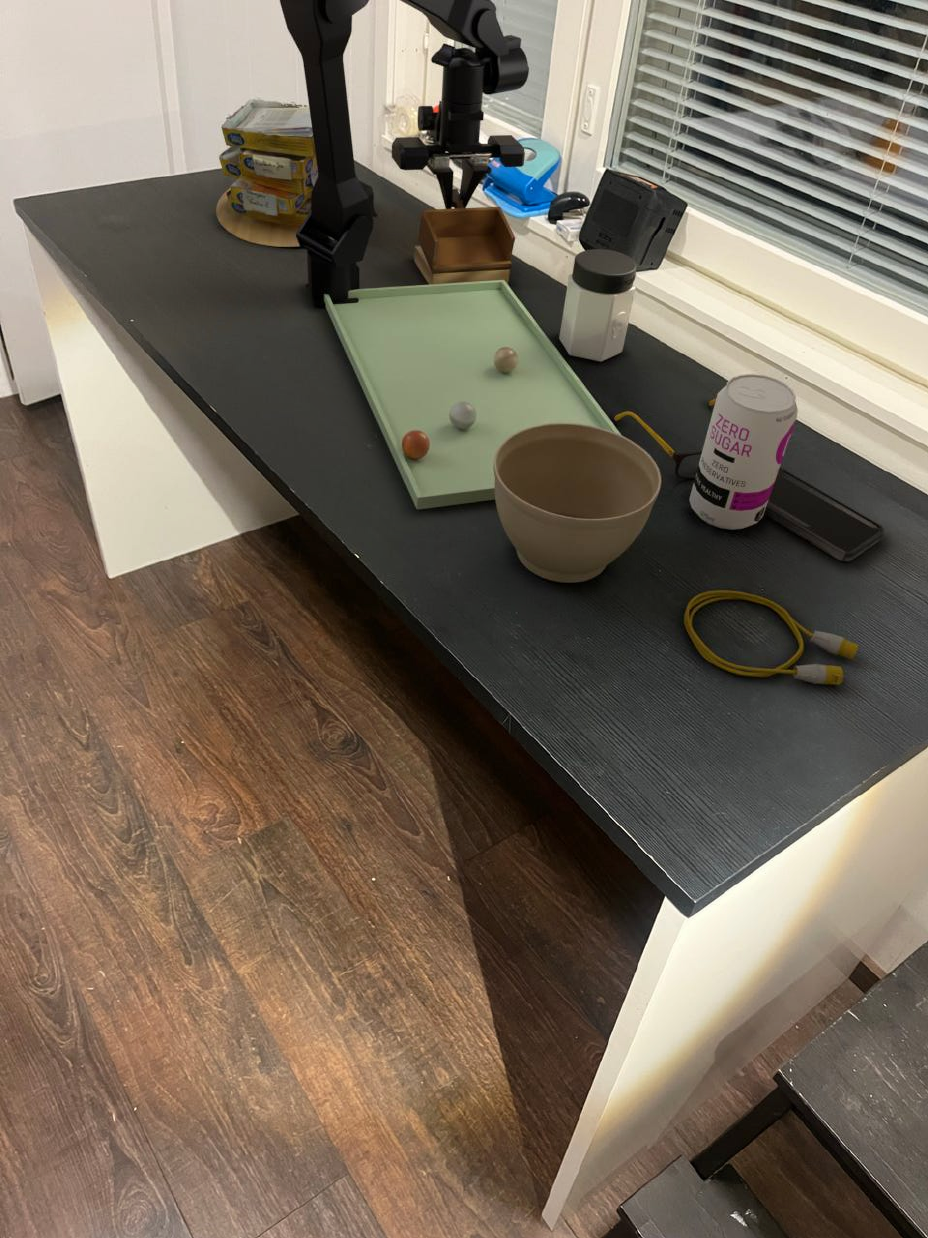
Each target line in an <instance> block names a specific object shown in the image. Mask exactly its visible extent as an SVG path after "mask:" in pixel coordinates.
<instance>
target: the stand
mask: <svg viewBox="0 0 928 1238" xmlns="http://www.w3.org/2000/svg"><path fill="white" fill-rule="evenodd" d="M413 258H414V259H413V260H414V264H415V265H416V266H417V268H418V269H419V271H420V272H421V275H423V278H424V279H425V281H426V282H427V285H431V284H447V283H462V282H478V281H493V280H504V281H505V282H506V283H507V285H508V286H509V281H510V280H509V279H510V270H511V269H507V270H491V271H475V272H458V273H442V274H432V272H431V269H430V267H429V264H428V262H427V260H426V257H425V255H424V252H423V250H422V248H421V245H414V255H413Z"/></svg>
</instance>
